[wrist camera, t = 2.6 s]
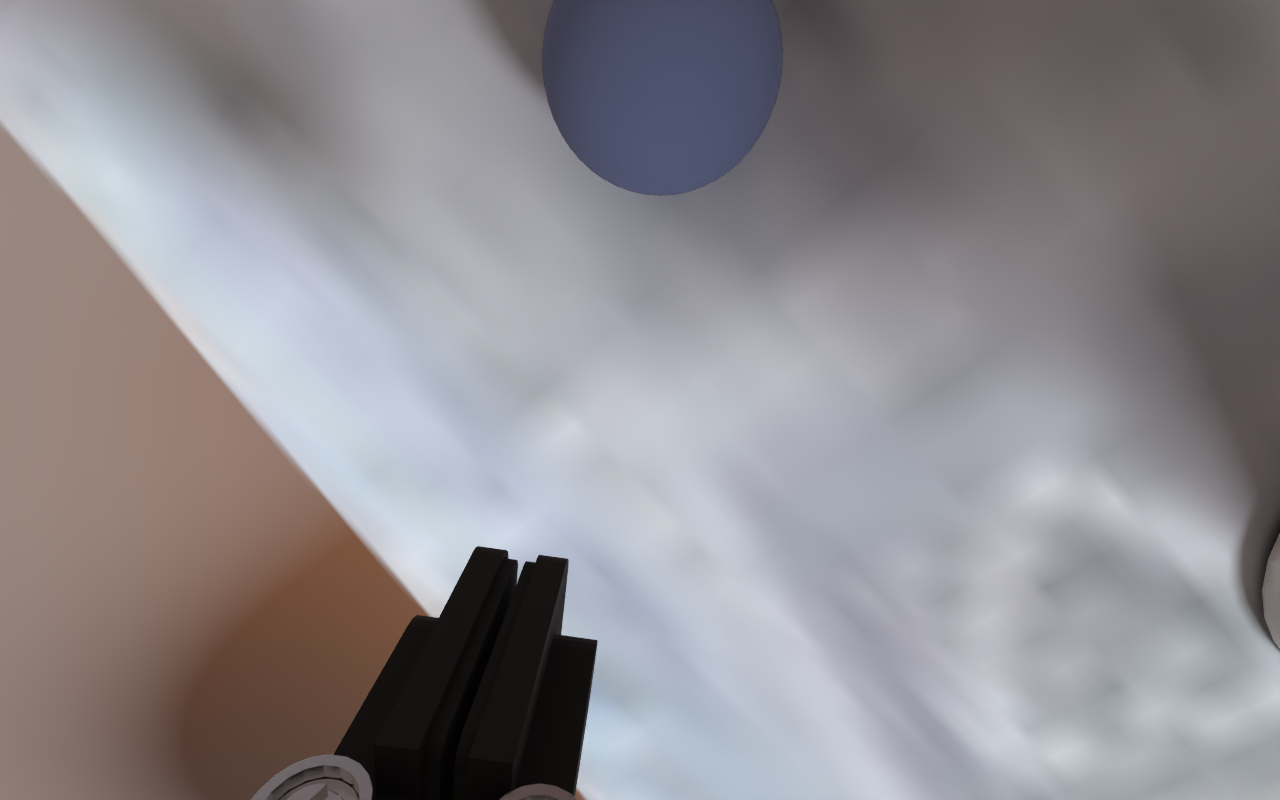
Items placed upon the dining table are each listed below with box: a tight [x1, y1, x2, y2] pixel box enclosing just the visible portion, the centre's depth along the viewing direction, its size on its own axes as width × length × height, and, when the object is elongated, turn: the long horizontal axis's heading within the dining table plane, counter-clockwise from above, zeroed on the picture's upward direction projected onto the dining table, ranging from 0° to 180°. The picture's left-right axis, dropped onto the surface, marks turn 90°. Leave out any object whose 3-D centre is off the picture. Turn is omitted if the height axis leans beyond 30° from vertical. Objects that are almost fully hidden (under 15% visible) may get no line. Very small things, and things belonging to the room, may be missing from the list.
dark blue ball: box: [542, 0, 783, 196], centre depth 14 cm, size 6×6×6 cm
